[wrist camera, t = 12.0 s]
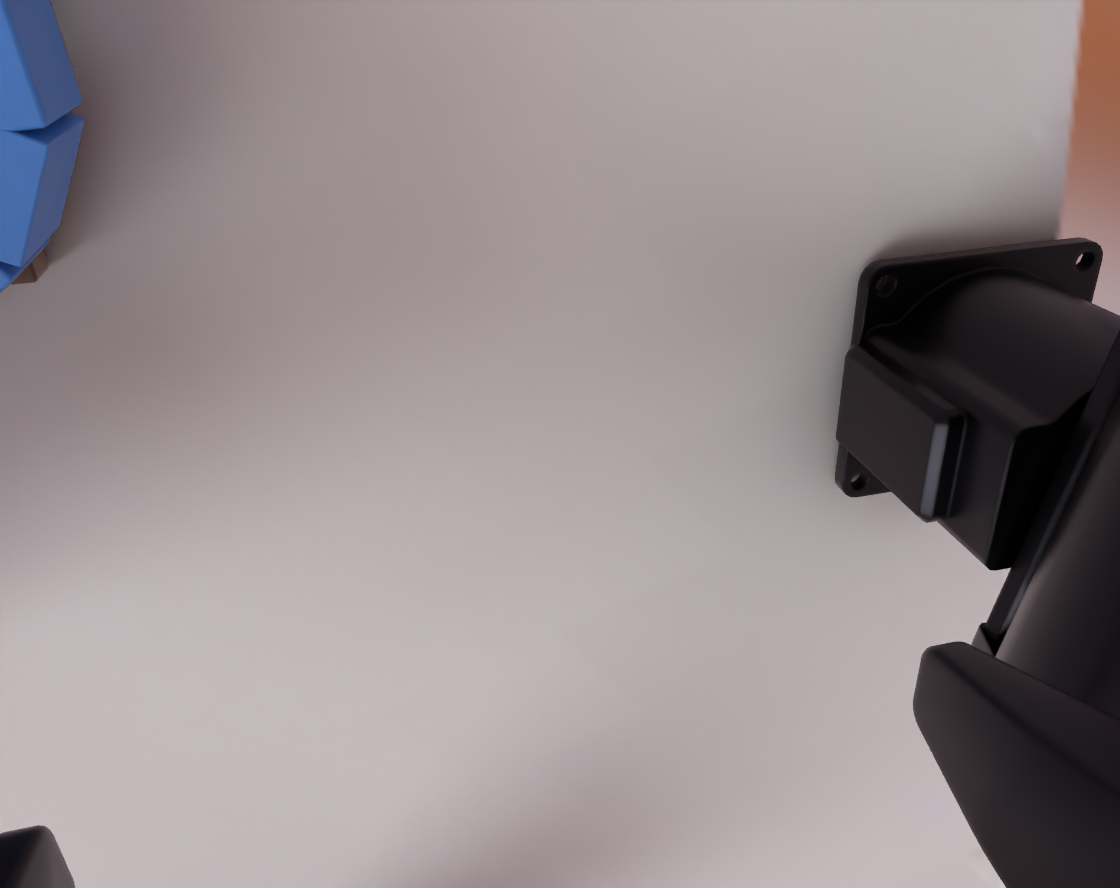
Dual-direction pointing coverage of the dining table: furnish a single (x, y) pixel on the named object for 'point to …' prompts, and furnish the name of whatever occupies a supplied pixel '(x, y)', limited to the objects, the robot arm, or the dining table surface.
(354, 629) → the dining table surface
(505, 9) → the dining table surface
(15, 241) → the tape roll
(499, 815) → the dining table surface
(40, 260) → the stand
